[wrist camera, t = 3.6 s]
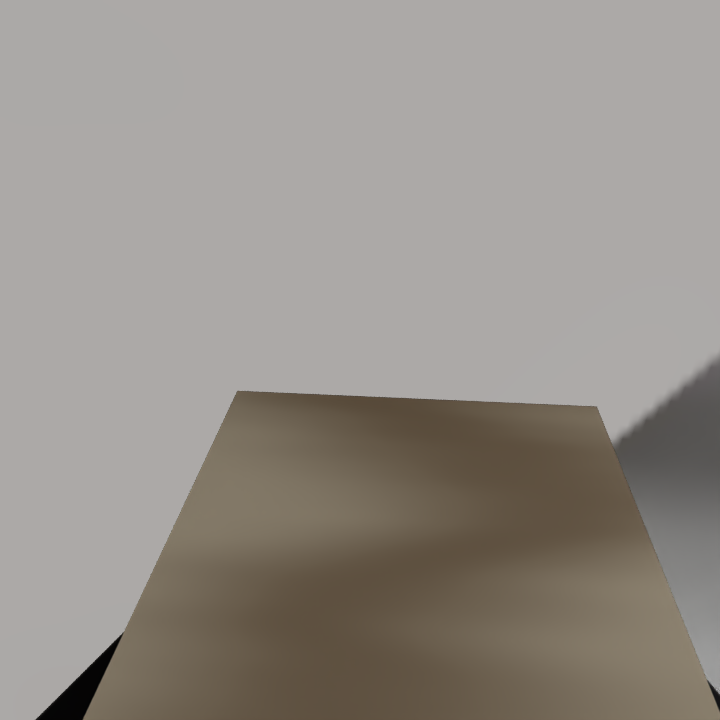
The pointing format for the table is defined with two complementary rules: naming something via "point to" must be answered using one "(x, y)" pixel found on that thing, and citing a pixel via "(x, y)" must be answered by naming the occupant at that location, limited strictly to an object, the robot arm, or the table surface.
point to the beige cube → (406, 574)
